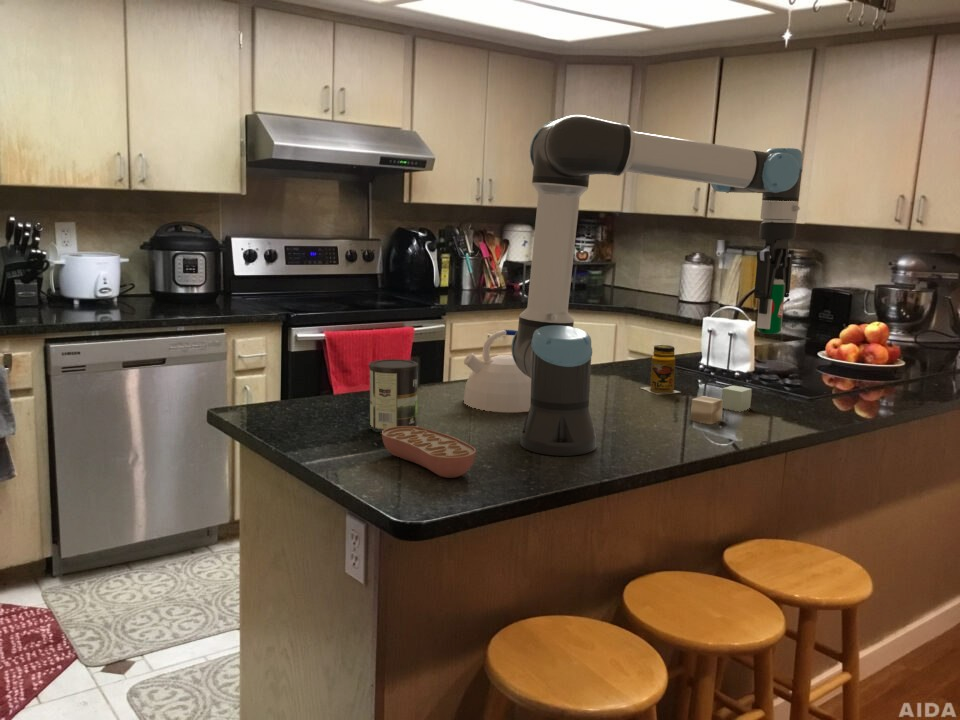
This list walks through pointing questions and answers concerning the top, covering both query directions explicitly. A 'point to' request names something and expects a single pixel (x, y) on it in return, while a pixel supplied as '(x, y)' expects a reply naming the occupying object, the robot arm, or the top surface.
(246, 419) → the top surface
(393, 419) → the coffee can
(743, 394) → the sage block
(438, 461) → the anatomical model
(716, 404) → the maple block
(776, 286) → the soda can
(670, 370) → the condiment
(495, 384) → the kettle
